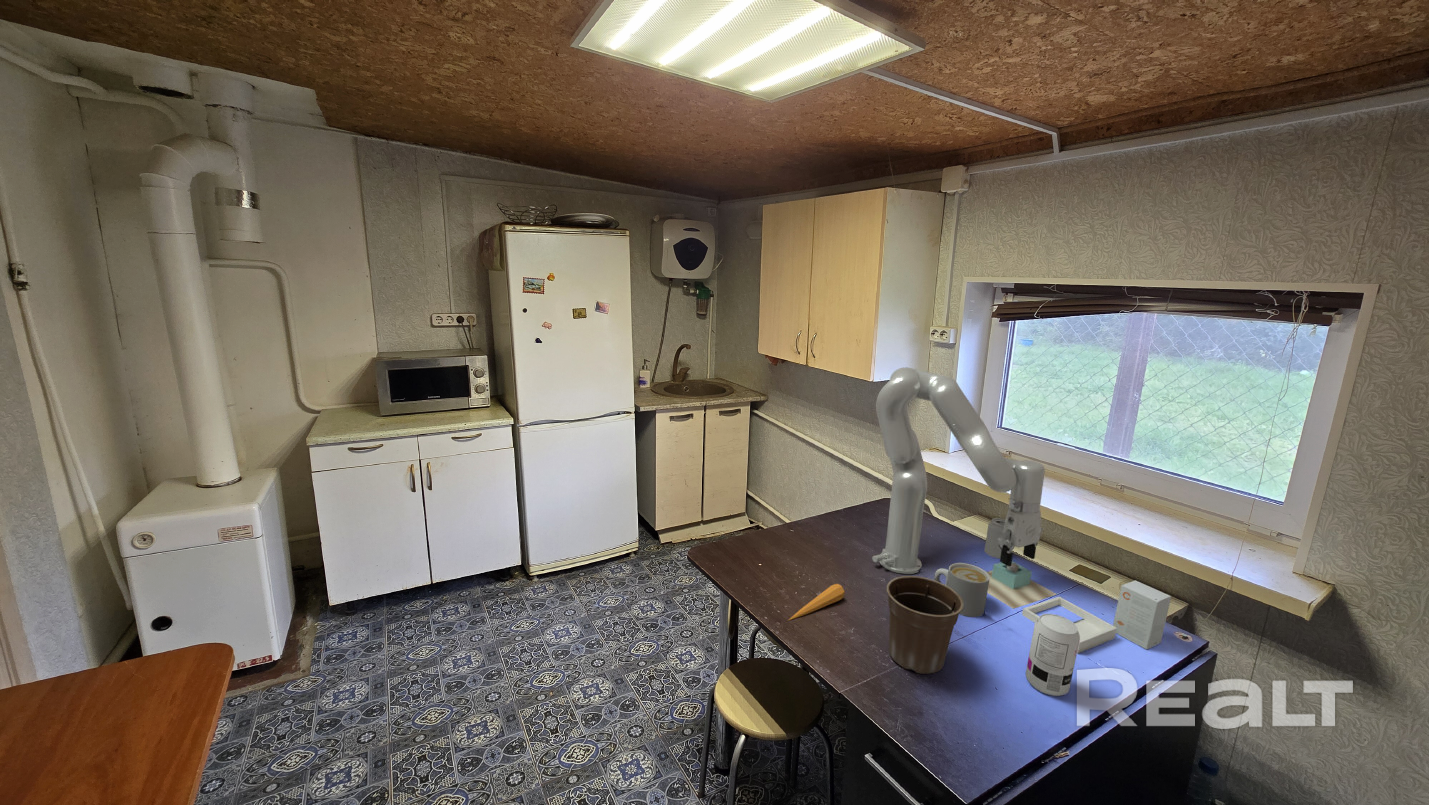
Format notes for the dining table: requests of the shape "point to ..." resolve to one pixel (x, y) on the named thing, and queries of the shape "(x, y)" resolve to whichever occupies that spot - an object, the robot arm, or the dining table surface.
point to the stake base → (1017, 591)
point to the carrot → (822, 600)
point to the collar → (1011, 575)
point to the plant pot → (921, 622)
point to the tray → (1077, 623)
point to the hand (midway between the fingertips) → (1017, 560)
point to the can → (994, 537)
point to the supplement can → (1052, 654)
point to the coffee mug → (967, 586)
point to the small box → (1141, 614)
